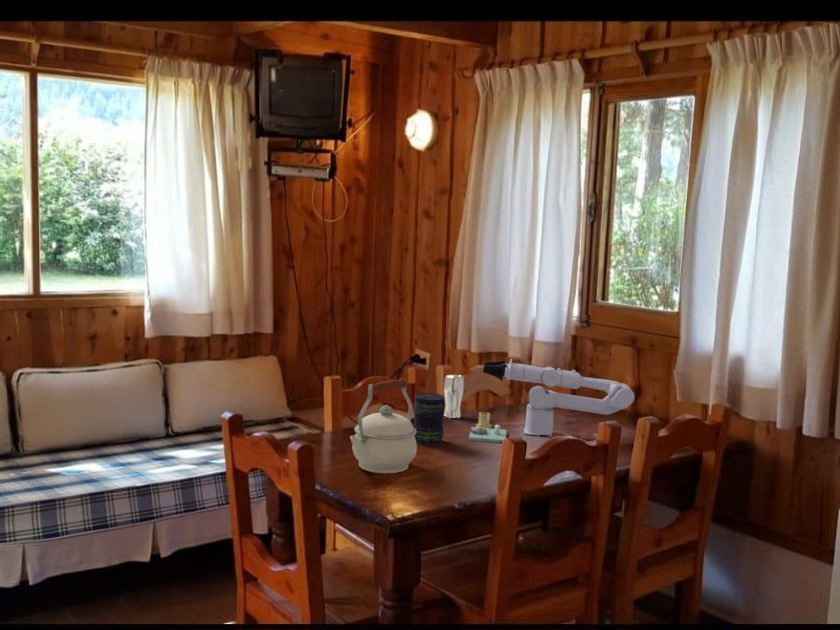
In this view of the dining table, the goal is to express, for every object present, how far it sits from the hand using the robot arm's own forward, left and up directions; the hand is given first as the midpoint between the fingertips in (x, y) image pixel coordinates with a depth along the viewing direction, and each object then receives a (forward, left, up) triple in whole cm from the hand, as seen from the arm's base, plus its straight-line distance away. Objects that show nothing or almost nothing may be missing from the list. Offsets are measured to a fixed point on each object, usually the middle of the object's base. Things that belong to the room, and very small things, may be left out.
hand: (483, 367), depth 284 cm
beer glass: (+11, -14, -22) cm, 28 cm away
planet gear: (-1, -2, -22) cm, 22 cm away
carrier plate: (-3, +10, -22) cm, 24 cm away
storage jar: (+16, +23, -22) cm, 35 cm away
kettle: (+26, +55, -22) cm, 65 cm away
